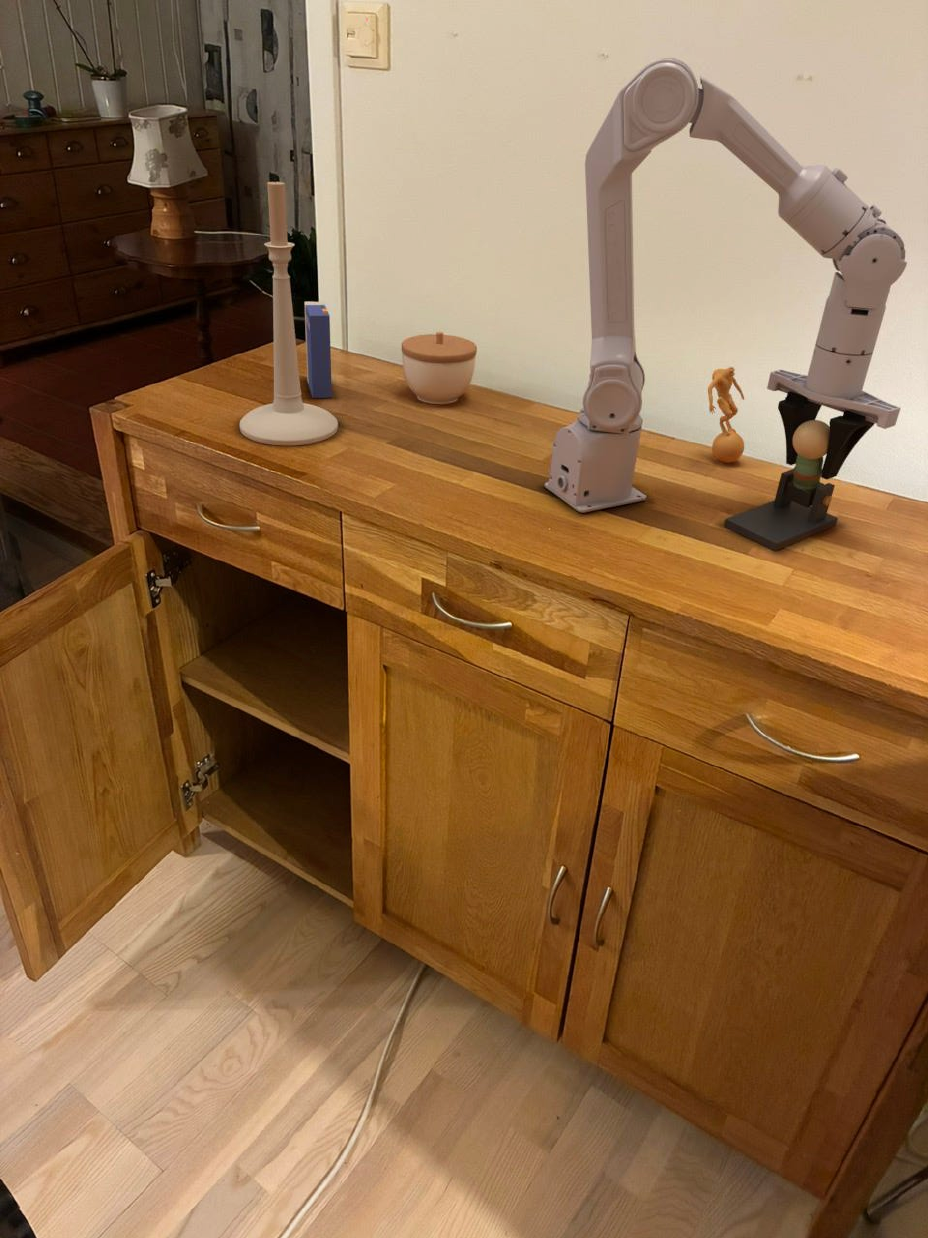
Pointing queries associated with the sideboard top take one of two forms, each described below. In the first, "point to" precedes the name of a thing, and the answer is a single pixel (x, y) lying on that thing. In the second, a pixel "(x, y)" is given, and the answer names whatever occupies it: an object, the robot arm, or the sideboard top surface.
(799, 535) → the toy stand
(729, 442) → the figurine
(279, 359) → the candlestick
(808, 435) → the peg doll
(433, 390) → the trinket box
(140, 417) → the sideboard top surface
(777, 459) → the sideboard top surface
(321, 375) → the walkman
